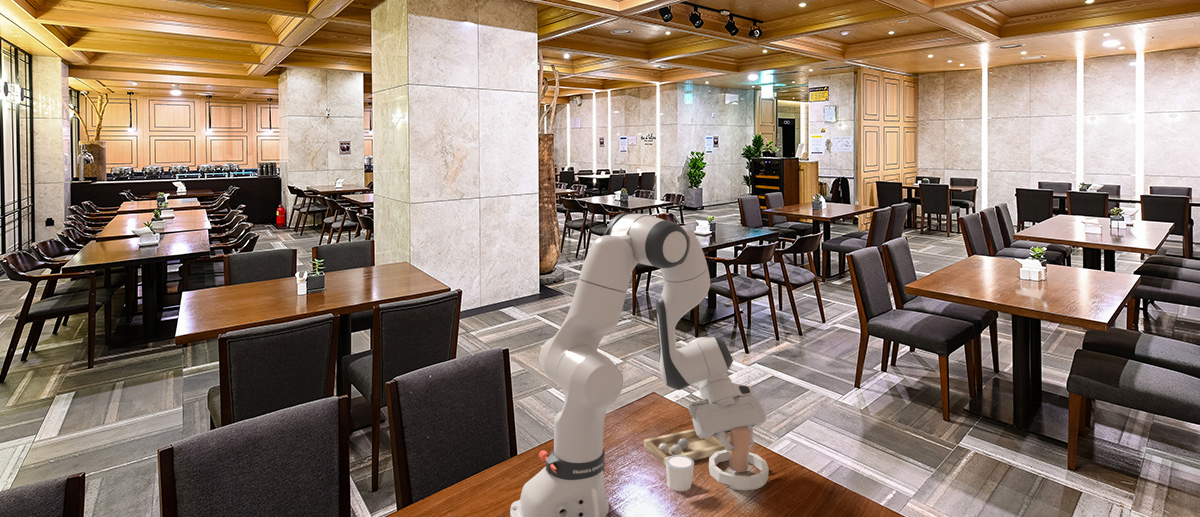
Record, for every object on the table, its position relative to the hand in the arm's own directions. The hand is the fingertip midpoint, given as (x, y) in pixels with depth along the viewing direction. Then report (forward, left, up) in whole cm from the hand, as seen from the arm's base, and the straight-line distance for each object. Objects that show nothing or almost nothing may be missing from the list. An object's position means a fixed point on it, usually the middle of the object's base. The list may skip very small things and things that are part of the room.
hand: (741, 447), depth 154 cm
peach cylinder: (0, +1, -6) cm, 6 cm away
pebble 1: (-13, +16, -7) cm, 22 cm away
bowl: (0, +1, -8) cm, 8 cm away
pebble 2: (-11, +15, -5) cm, 20 cm away
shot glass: (-17, +2, -8) cm, 19 cm away
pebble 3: (-5, +16, -6) cm, 18 cm away
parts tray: (-6, +16, -8) cm, 19 cm away
